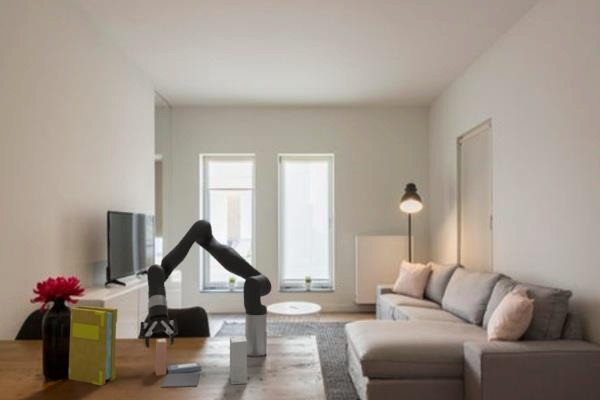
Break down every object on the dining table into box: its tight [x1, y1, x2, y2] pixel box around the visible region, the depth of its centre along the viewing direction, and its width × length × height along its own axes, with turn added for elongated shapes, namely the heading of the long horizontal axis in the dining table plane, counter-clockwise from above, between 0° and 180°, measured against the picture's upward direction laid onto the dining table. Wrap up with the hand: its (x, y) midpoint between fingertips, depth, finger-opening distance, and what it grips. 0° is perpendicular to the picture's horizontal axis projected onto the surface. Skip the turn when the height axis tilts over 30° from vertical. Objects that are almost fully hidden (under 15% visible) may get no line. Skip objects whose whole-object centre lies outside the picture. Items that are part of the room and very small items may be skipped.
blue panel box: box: [166, 361, 202, 374], centre depth 165 cm, size 12×5×2 cm, turn 112°
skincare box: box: [229, 335, 248, 385], centre depth 156 cm, size 8×6×15 cm
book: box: [68, 305, 119, 386], centre depth 155 cm, size 17×7×25 cm, turn 71°
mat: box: [161, 372, 202, 389], centre depth 155 cm, size 12×12×1 cm
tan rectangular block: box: [154, 337, 168, 376], centre depth 162 cm, size 4×5×12 cm
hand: (159, 345), depth 167 cm, fingers open, 8 cm apart
